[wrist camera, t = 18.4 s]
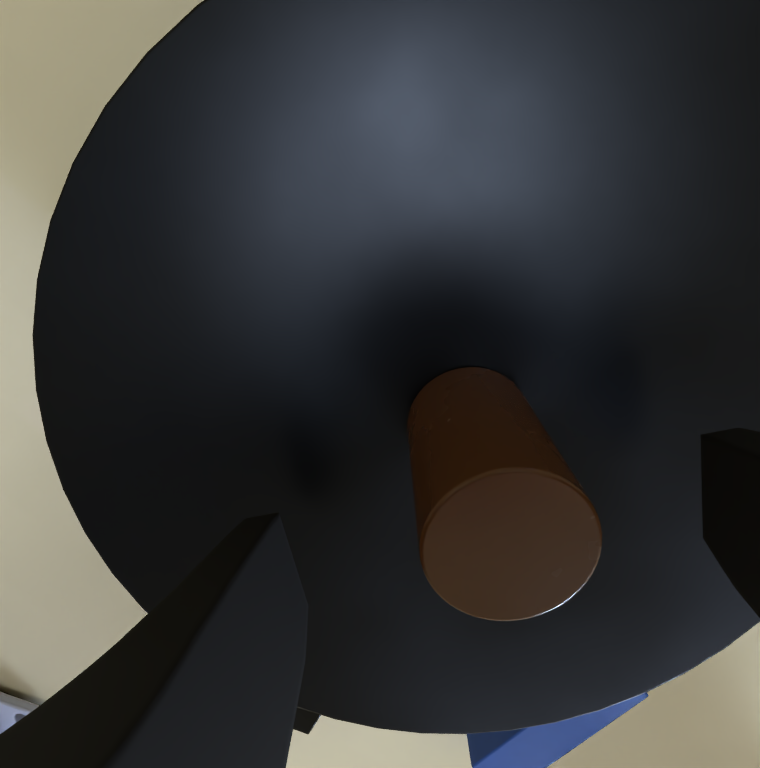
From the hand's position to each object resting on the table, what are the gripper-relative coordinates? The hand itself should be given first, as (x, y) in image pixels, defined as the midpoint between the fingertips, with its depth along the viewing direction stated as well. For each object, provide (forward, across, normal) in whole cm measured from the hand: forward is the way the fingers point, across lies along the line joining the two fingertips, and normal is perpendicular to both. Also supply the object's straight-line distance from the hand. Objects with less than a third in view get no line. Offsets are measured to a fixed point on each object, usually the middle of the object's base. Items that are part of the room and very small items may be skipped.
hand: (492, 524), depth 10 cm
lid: (+2, 0, -1) cm, 3 cm away
